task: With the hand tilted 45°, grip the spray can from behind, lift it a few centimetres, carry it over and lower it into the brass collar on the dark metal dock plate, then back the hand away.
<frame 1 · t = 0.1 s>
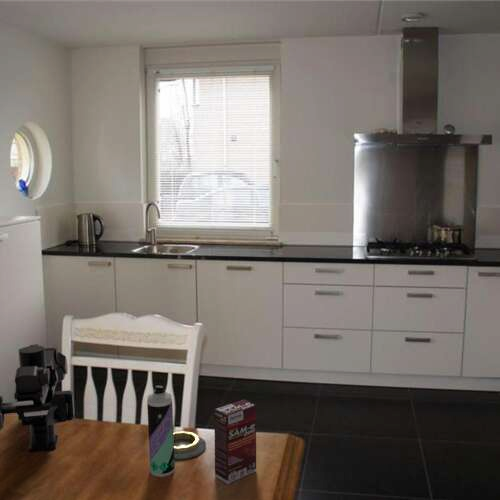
hand: (22, 425, 128), 17 cm above the table, tool horizontal, fingers open, 9 cm apart
spray can: (162, 471, 142), on the table
supplement box: (236, 475, 140), on the table
dock: (181, 447, 153), on the table
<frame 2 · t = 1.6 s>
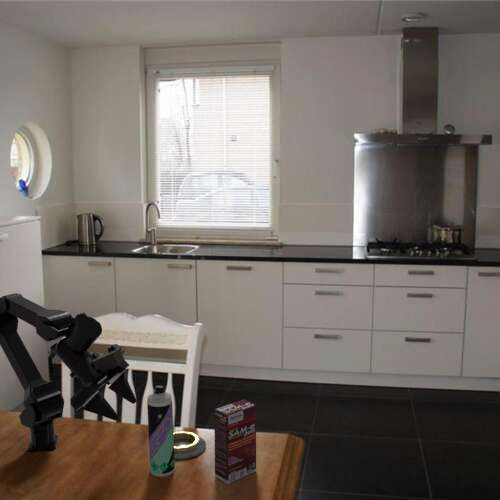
hand: (126, 410, 141), 14 cm above the table, tool tilted 45°, fingers open, 9 cm apart
nothing on the table moved.
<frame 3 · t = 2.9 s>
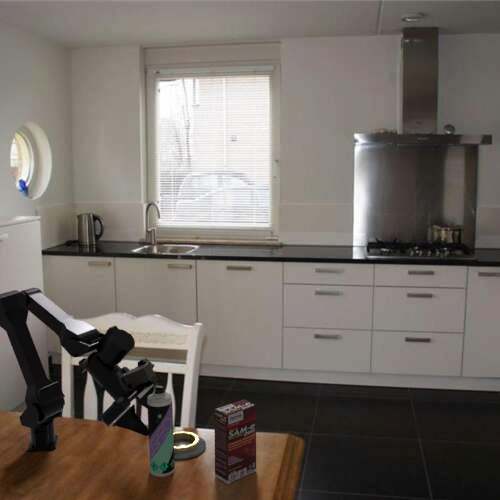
hand: (157, 425, 140), 11 cm above the table, tool tilted 45°, fingers open, 9 cm apart
nothing on the table moved.
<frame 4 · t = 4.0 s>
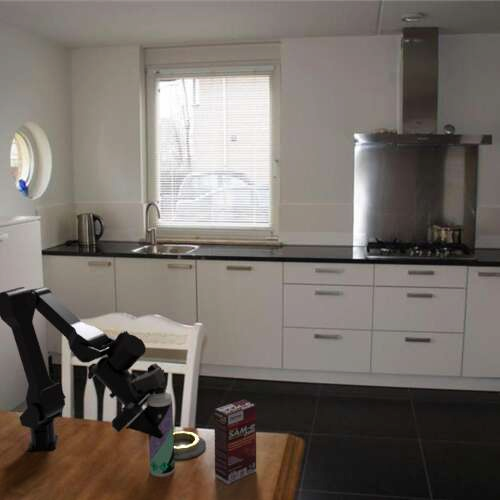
hand: (166, 431, 140), 10 cm above the table, tool tilted 45°, fingers closed on spray can, 5 cm apart
spray can: (162, 471, 142), on the table, touching gripper
everything else where it was.
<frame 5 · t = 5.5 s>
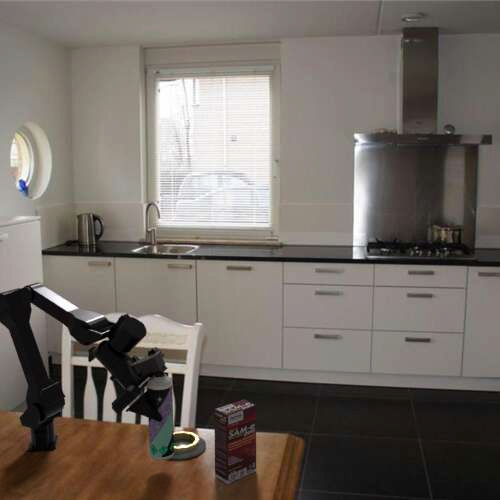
hand: (166, 414, 140), 13 cm above the table, tool tilted 45°, fingers closed on spray can, 5 cm apart
spray can: (161, 455, 142), point 3 cm above the table, touching gripper
everything else where it was.
when the fingers open (11 cm above the table, at t = 7.3 s): spray can stays where it is, resting on dock.
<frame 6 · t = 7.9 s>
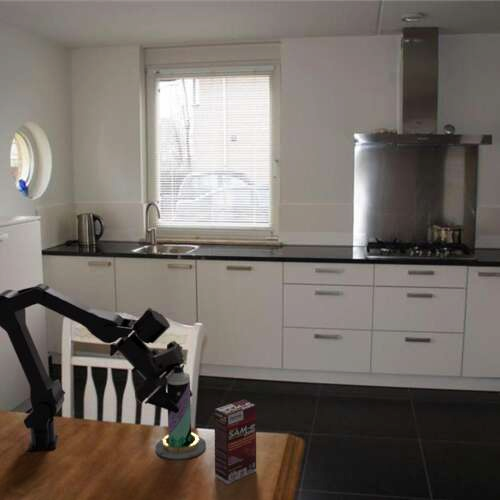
hand: (185, 403, 150), 11 cm above the table, tool tilted 45°, fingers open, 9 cm apart
spray can: (180, 446, 152), resting on dock
everything else where it was.
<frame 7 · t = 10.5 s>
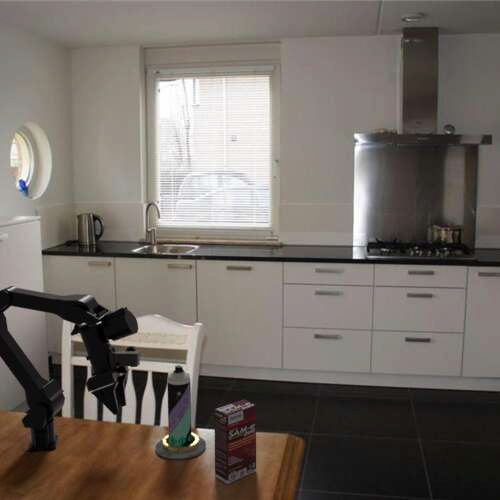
hand: (120, 410, 148), 11 cm above the table, tool tilted 25°, fingers open, 9 cm apart
nothing on the table moved.
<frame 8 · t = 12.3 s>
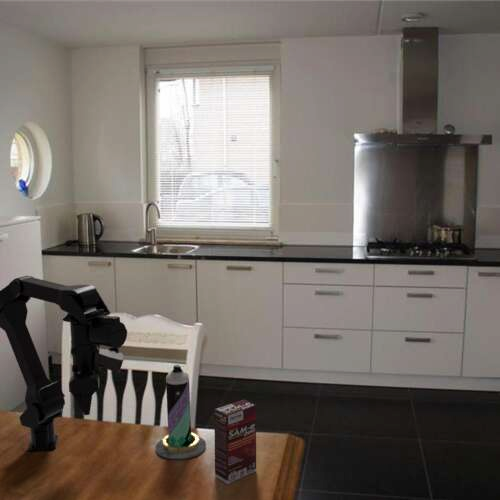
hand: (88, 406, 145), 13 cm above the table, tool pointing down, fingers open, 9 cm apart
nothing on the table moved.
at the end: spray can 0.2 cm off-centre on the dock, point 0.4 cm above the dock's base; spray can tilted 1°; the gripper is holding nothing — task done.
